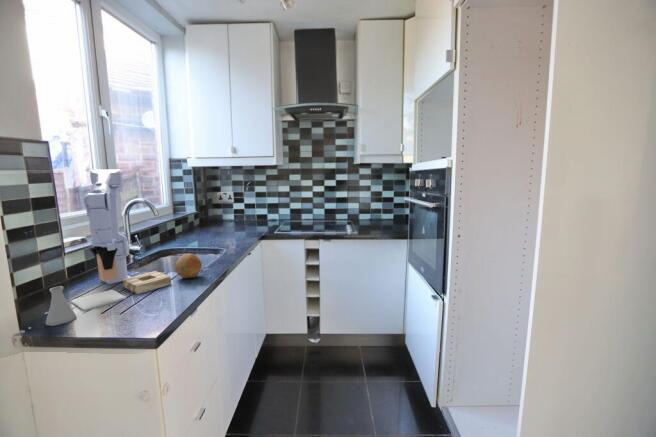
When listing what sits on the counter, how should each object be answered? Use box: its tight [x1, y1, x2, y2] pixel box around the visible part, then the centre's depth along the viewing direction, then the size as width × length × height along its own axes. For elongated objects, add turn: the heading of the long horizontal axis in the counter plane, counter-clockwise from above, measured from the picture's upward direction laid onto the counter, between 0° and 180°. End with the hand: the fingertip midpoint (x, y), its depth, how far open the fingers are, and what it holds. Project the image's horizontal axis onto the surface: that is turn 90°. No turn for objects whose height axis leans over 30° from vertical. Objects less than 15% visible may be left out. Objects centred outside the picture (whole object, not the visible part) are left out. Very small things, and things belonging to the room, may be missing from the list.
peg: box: [96, 254, 117, 283], centre depth 108 cm, size 4×4×9 cm
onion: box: [174, 253, 202, 279], centre depth 127 cm, size 10×10×10 cm
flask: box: [45, 285, 77, 327], centre depth 92 cm, size 7×7×10 cm
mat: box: [70, 289, 127, 312], centre depth 107 cm, size 12×12×1 cm
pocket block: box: [122, 270, 172, 295], centre depth 120 cm, size 12×12×3 cm
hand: (105, 268), depth 108 cm, fingers closed on peg, 4 cm apart
